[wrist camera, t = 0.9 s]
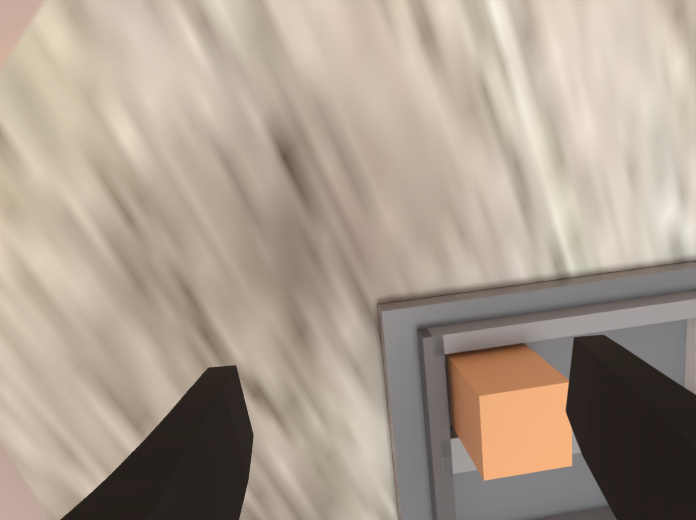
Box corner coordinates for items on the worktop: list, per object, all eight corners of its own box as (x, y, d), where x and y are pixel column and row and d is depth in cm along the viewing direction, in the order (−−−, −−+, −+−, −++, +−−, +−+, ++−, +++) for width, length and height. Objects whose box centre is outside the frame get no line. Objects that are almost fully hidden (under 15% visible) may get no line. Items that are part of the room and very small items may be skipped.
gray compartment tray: (706, 496, 32) (739, 523, 29) (401, 550, 30) (411, 584, 28) (718, 258, 28) (756, 267, 26) (377, 304, 27) (385, 319, 25)
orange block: (524, 412, 27) (572, 465, 23) (450, 423, 27) (483, 480, 22) (521, 341, 27) (570, 381, 22) (445, 352, 26) (479, 396, 22)
